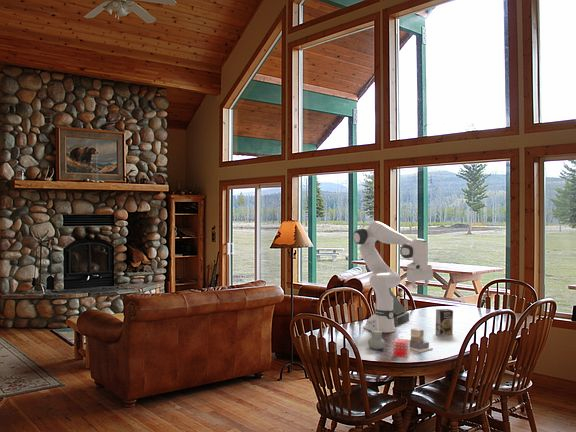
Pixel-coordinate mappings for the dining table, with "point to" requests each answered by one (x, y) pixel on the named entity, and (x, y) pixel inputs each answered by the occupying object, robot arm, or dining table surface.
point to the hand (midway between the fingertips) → (420, 287)
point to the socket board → (420, 346)
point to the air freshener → (376, 340)
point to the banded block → (417, 335)
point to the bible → (398, 311)
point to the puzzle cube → (401, 347)
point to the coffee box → (444, 322)
